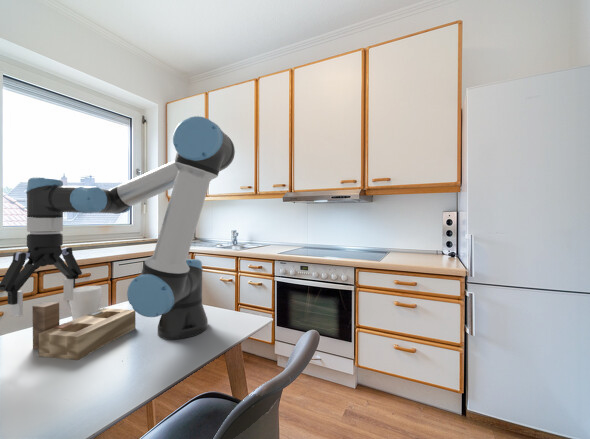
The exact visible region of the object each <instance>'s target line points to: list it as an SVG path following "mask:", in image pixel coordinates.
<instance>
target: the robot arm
mask: <svg viewBox="0 0 590 439" xmlns="http://www.w3.org/2000/svg"><path fill="white" fill-rule="evenodd" d="M172 143H173V146H174V149H175V151H176V155H175V158H174V160H173V161H171V162H168V163H166V164H164V165H161V166H160V167H157V168H155V169H152V170H150V171H148V172H146V173H144V174H141V175H139V176H137V177H134V178H132V179H130V180H128V181H125V182H122V183H121V184H119V185H117V186H116V185H115V187H114V186H113V188H110V189H106V188H105V189H104V188H101V187H98V186H92V185H64V182H63V181H62V180H61V179H58V178H53V177H38V176H37V177H30V178H29V179H28V180H27V186H26V191H25V193H26V232H28V234H26V247H27V252H14V253H13V254H12V260H11V261H12V262H11V263H10V265H9V266H8V268H7V270H6V272H5V274H4V276H3V277H2V279H1V281H0V292H6V293H7V305H10V316H11V317H24V316H23V315H24V314H23V312H24V309H23V308H24V291H23V290H21V288H22V287H23V286H24V284H26V282H27V281H28V280H29V278H31V276H32V275H33V274H34V272H35V271H36V270H39V268H41V267H46V266H54V267H55V268H56V269H57V270H58V271H60V273H61V274H62V275H63V276H65V278H63V296H62V297H63V301H72V300H73V289H74V288H76V279H78V278H79V277H80V276H81V275H83V272H82V270H81V267H80V265H79V264H78V262H77V260H76V258H75V256H74V254H73V247H71V246H70V247H69V246H68V247H67V246H66V247H65V246H63V239H64V238H63V237H64V236H63V235H64V234H62V233H61V232H63V230H64V223H63V222H64V213H76V214H77V213H79V214H80V213H81V214H97V213H98V214H115V215H116V214H117V215H119V214H124V213H127V212H128V211H130V210H131V208H132V207H133V206H135V205H137V204H139V203H142V202H144V201H146V200H148V199H151V198H153V197H155V196H158V195H160V194H162V193H164V192H167V191H169V190H172V191H171V194H170V198H169V201H168V204H167V206H166V207H167V208H166V211H165V214H164V218H163V220H162V223H161V227H160V231H159V235H158V238H157V240H156V241H157V242H156V243H155V244H156V245H155V247H154V251H153V254H152V256H149V257H148V258H146V259H145V260H144V263H143V266H142V269H141V273H140V274H138V275H137V276H136V277H134V278H133V279H132V280H131V281H130V283H129V285H128V287H127V293H126V296H127V300H128V304H129V305H131V308H132V310H135V313H137V314H138V315H139V316H142V317H145V318H146V317H147V318H156V317H160V318H159V322H158V324H157V335H158V337H160V338H162V339H166V340H168V339H169V340H178V339H179V340H180V339H186V338H191V337H194V336H197V335H200V334H201V333H204V332H205V331H206V330H207V329H208V324H209V320H208V316H207V313H206V311H205V308H204V305H203V264H202V261H201V260H200V259H198V258H197V259H195V258H194V259H193V258H192V259H191V258H188V257H189V254H190V250H191V247H192V243H193V239H194V237H195V236H194V235H195V232H196V230H197V226H198V222H199V219H200V216H201V212H202V210H203V206H204V202H205V199H206V196H207V194H208V190H209V186H210V184H211V181H213V180H214V179H216V178H218V176H219V174H220V172H221V171H223V170H225V169H227V168H228V167H229V166H230V165H231V164H232V163H233V160H234V159H235V153H236V150H235V144H234V142H233V141H232V139H231V138H230V137H229V136H228V135H227V134H225V132H224V131H223V130H222V129H221V127H220V126H219V125H218V124H217V123H215V122H214V121H212V120H210V119H209V118H206V117H204V116H199V115H197V116H191V117H188V118H186V119H184V120H182V121H180V122H179V123H178V124H177V126H176V127H175V129H174V132H173V134H172ZM61 246H63V247H61ZM61 255H62V258H61ZM27 260H28V261H27Z"/></svg>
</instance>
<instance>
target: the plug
mask: <svg viewBox="0 0 590 439" xmlns="http://www.w3.org/2000/svg"><path fill="white" fill-rule="evenodd" d="M59 325H60V301H59V302H57V301H45V302H42V303H39V304H35V305H32V349H33V350H39V333H41V332H44V331H47V330H49V329H52V328H54V327H56V326H59Z"/></svg>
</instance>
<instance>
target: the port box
mask: <svg viewBox="0 0 590 439" xmlns="http://www.w3.org/2000/svg"><path fill="white" fill-rule="evenodd" d="M136 324H137V323H136V311H135V310H134V309H122V308H107V307H104V308H100V310H98V311H95V312H92V313H89V314H87V315H85V316H83V317H80V318H77V319H75V320H73V319H72V320H70V321H67V322H64V323H62V324H59V326H56V327H54V328H52V329H49V330H47V331H44V332H41V333H39V349H38V356H39V357H45V358H55V359H63V360H65V359H66V360H75V361H79V360H80V359H82V358H84V357H87V356H88V355H89V354H92V353H93V352H95V351H97V350H99V349H101V348H102V347H105V346H106V345H108V344H110V343H112V342H113V341H116V340H117V339H119V338H121V337H123V336H124V335H126V334H128V333H130V332H131V331H133V330H135V329H136Z"/></svg>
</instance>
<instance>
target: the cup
mask: <svg viewBox="0 0 590 439" xmlns="http://www.w3.org/2000/svg"><path fill="white" fill-rule="evenodd" d="M102 292H103V290H102V286H101V285H84V286H79V287H75V288H73V300H72V301H69V302H68V303H69V308H70V312H71V313H70V314H71V317H72V318H71V319H72V320H75V319H77V318H80V317H83V316H85V315H87V314H89V313H92V312H95V311H98V310H101V305H102V304H101V303H102V298H103V293H102Z"/></svg>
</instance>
